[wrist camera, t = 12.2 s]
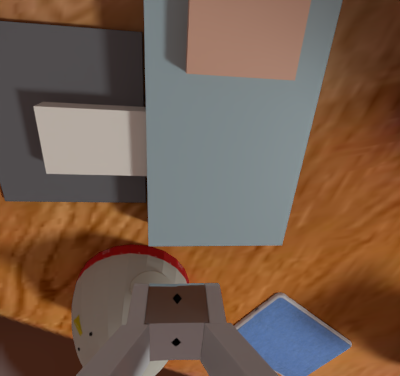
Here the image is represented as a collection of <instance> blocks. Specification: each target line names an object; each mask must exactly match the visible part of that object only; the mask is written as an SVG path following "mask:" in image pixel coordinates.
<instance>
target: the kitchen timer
mask: <svg viewBox="0 0 400 376" xmlns="http://www.w3.org/2000/svg"><path fill="white" fill-rule="evenodd" d="M135 283H143V284H149V283H154V284H189V280H188V277H187V274H186V271H185V269H184V268H183V267H182V265H181V264H180V263H179V262H178V260H177V259H175V258H174V257H172V256H171V255H169V254H168V253H166V252H165V251H162V250H159V249H156V248H153V247H150V246H144V245H134V244H130V245H123V246H115V247H112V248H110V249H107V250H105V251H102V252H99V253H98V254H97V255H95V256H94V257H93V258H91V259H90V260H89V261H88V262H87V263H86V265H85V266H84V268H83V269H82V271H81V272H80V274H79V277H78V280H77V282H76V286H75V291H74V295H73V301H72V334H73V339H74V343H75V347H76V351H77V354H78V357H79V360H80V362H81V364H82V365H83V367H84V366H85V365H86V364H87V363H88V362H89V361H90V360H91V358H92V357H93V356H94V355H95V354H96V353H97V352H98V351H99V350H100V348H101V347H102V346H103V345H104V344H105V343H106V342H107V341H108V340H109V339H110V337H111V336H112V335H113V334H114V333H115V332H116V331H117V330H118V329H119V327H120V326H121V325H126V324H127V318H128V313H129V307H130V301H131V296H132V290H133V286H134V284H135ZM167 361H168V360H162V361H150V363H149V365H148V366H147V368H146V370H145V371H144V373H143V375H142V376H155V375H156V374H157V373H158V372H159V371H160V370H161V369H162V368H163V367H164V365H165V364H166V363H167Z"/></svg>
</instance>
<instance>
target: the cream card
mask: <svg viewBox="0 0 400 376" xmlns="http://www.w3.org/2000/svg"><path fill="white" fill-rule="evenodd" d="M33 107H34V112H35V117H36V123H37V128H38V133H39V138H40V143H41V149H42V154H43V159H44V164H45V169H46V174H78V175H121V176H147V140H146V107H136V106H117V105H97V104H78V103H58V102H41V103H39V104H37V105H35V106H33Z"/></svg>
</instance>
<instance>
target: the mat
mask: <svg viewBox="0 0 400 376" xmlns="http://www.w3.org/2000/svg"><path fill="white" fill-rule="evenodd" d="M41 102H58V103H78V104H97V105H117V106H136V107H144V94H143V50H142V32H133V31H121V30H108V29H95V28H83V27H70V26H57V25H44V24H32V23H19V22H6V21H0V184H1V187H2V191H3V194H4V198H5V201H40V202H140V203H146V181H145V176H121V175H78V174H46V169H45V164H44V159H43V154H42V149H41V143H40V138H39V133H38V128H37V123H36V117H35V112H34V107H33V106H35V105H37V104H39V103H41Z"/></svg>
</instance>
